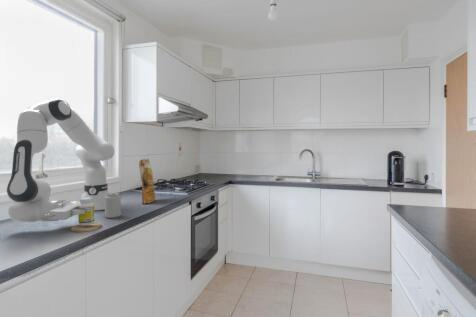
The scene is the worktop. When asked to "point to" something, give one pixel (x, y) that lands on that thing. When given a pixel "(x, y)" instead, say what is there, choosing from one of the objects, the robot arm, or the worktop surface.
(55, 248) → the worktop surface
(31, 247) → the worktop surface
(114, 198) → the can
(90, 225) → the coaster
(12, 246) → the worktop surface
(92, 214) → the pill bottle
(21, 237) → the worktop surface
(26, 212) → the robot arm
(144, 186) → the pancake mix bag
